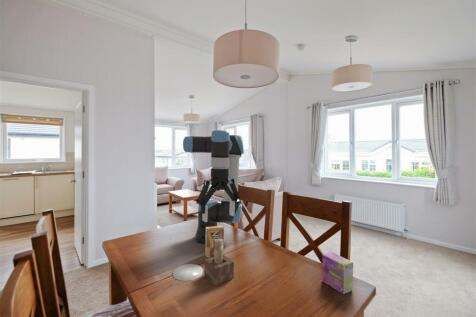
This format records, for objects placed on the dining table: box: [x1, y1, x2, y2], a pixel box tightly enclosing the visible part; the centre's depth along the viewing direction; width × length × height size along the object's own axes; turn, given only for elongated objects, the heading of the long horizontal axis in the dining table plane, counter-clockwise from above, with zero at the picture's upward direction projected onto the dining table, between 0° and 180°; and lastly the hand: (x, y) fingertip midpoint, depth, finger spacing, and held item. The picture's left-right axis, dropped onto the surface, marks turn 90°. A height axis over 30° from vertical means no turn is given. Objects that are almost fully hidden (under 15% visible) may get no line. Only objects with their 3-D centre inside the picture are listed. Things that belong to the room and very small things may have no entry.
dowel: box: [214, 239, 224, 265], centre depth 95 cm, size 4×4×16 cm
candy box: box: [204, 225, 225, 258], centre depth 115 cm, size 9×4×15 cm, turn 110°
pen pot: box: [203, 254, 235, 287], centre depth 96 cm, size 9×9×8 cm
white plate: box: [172, 263, 204, 282], centre depth 99 cm, size 13×13×1 cm
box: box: [321, 251, 354, 295], centre depth 93 cm, size 10×6×12 cm, turn 29°
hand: (219, 218), depth 94 cm, fingers open, 13 cm apart
